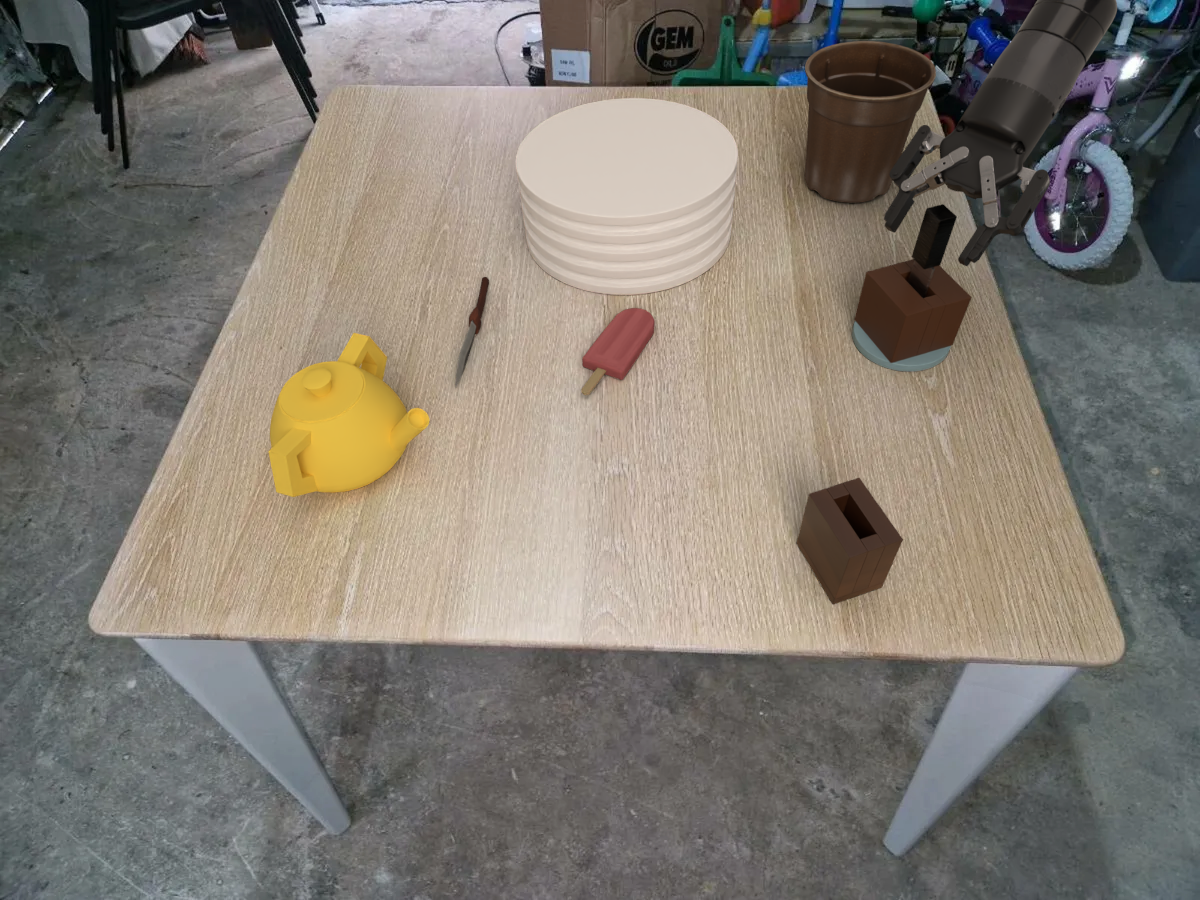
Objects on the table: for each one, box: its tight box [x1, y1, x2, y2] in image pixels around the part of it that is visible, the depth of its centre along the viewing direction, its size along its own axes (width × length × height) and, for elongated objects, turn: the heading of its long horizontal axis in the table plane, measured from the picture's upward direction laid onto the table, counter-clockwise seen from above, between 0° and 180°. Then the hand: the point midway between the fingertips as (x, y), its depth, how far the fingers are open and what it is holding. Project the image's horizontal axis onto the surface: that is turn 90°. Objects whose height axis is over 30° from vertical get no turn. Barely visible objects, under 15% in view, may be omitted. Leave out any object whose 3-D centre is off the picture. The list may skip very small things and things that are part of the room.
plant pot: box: [804, 40, 937, 204], centre depth 108 cm, size 16×16×16 cm
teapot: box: [267, 332, 431, 498], centre depth 81 cm, size 20×18×11 cm
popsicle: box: [580, 307, 656, 396], centre depth 93 cm, size 5×2×15 cm
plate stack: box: [515, 97, 739, 296], centre depth 105 cm, size 28×28×12 cm
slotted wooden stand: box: [851, 258, 972, 373], centre depth 90 cm, size 11×11×8 cm
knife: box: [454, 276, 490, 389], centre depth 95 cm, size 18×2×3 cm, turn 173°
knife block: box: [795, 477, 904, 605], centre depth 71 cm, size 5×7×8 cm
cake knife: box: [908, 203, 958, 298], centre depth 86 cm, size 2×3×16 cm, turn 19°
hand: (925, 245), depth 82 cm, fingers open, 8 cm apart
